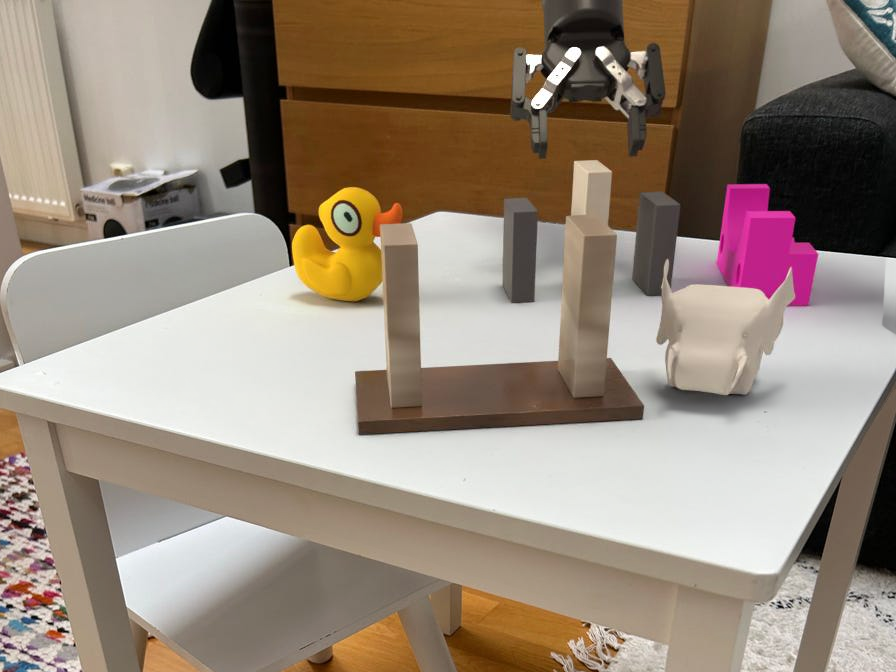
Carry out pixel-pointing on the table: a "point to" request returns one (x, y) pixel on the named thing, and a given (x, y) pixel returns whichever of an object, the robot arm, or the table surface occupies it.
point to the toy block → (762, 245)
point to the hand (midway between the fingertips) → (588, 152)
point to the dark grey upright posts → (649, 255)
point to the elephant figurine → (719, 334)
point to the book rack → (510, 384)
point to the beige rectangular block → (591, 189)
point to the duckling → (344, 246)
